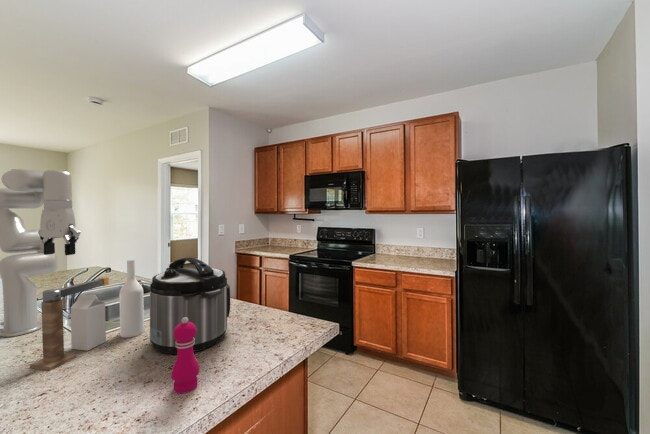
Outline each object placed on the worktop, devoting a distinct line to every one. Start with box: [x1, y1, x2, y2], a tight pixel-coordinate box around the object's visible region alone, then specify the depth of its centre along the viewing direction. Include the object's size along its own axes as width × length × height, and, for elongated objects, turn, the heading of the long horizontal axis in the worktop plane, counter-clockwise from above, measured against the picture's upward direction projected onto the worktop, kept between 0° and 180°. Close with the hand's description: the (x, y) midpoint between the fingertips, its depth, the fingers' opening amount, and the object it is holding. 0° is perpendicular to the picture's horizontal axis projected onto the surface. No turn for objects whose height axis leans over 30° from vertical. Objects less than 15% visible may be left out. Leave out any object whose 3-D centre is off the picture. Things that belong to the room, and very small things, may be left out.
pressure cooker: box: [149, 257, 231, 355], centre depth 113 cm, size 30×28×32 cm
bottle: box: [118, 258, 145, 338], centre depth 118 cm, size 8×8×30 cm
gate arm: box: [42, 276, 110, 302], centre depth 104 cm, size 21×4×3 cm, turn 170°
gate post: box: [29, 298, 77, 371], centre depth 96 cm, size 8×8×20 cm
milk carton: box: [70, 293, 107, 352], centre depth 108 cm, size 7×7×19 cm
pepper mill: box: [170, 317, 200, 394], centre depth 83 cm, size 7×7×20 cm
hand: (59, 254), depth 105 cm, fingers open, 8 cm apart
